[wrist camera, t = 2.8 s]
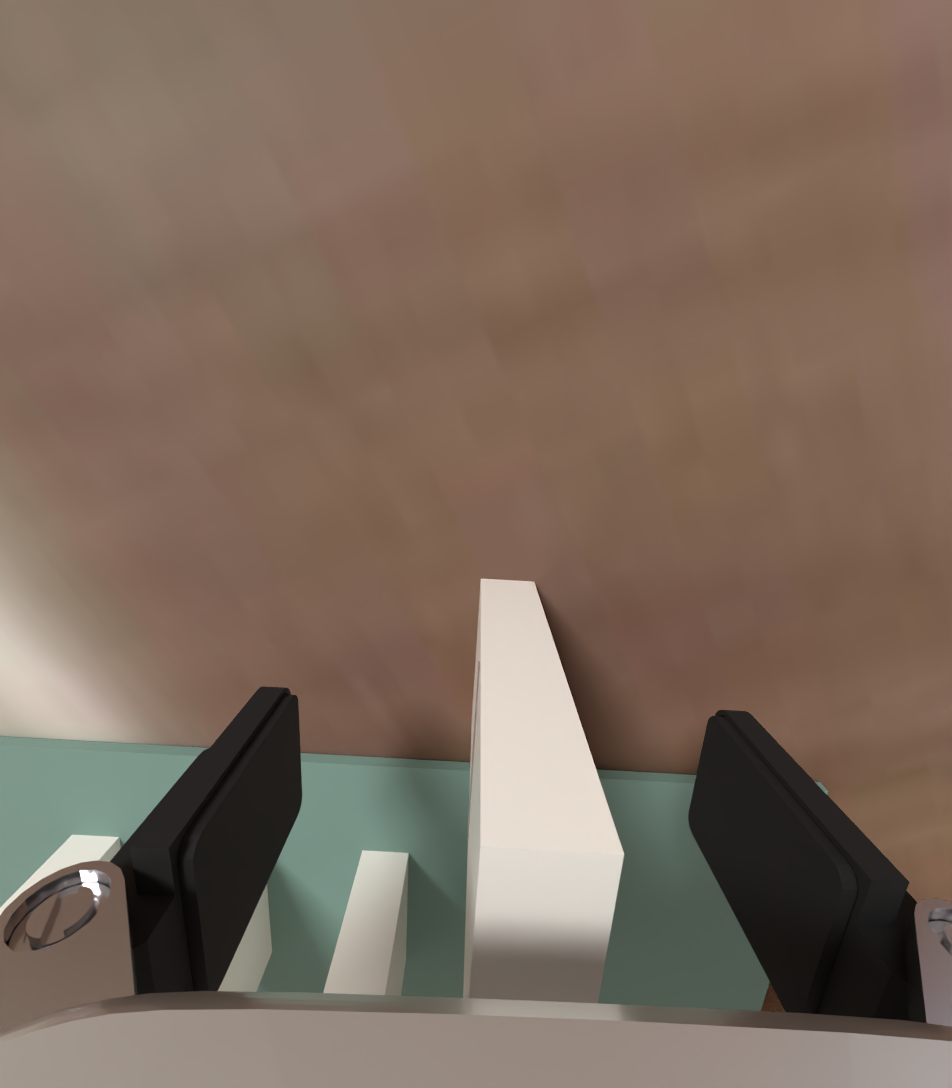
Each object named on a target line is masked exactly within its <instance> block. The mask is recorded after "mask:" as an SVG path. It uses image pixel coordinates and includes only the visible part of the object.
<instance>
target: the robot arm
mask: <svg viewBox="0 0 952 1088" xmlns="http://www.w3.org/2000/svg"><path fill="white" fill-rule="evenodd" d="M301 803H302V776H301V754H300V732H299V710H298V698H297V696H296V695H291V694H290V690H289V689H288V688H279V687H260V688H259V689H258V690H257V691H256V693H255V694H254V695H253V696H252V697H251V699H250V700H249V701H248V702H247V703H246V705H245V706H244V707H243V708H242V710H241V711H240V712H239V713H238V714H237V716H236V717H235V718H234V719H233V721H232V722H231V723H230V724H229V725H228V727H227V728H226V729H225V730H224V732H223V733H222V734H221V735H220V736H219V738H218V739H217V740H216V741H215V743H214V744H213V745H212V746H211V747H210V748H208V749H206V750H204V751H203V752H202V753H201V754H199V755H198V757H197V758H196V759H195V760H194V761H193V763H192V764H191V765H190V766H189V767H188V769H187V770H186V771H185V772H184V773H183V775H182V776H181V777H180V778H179V779H178V780H177V782H176V783H175V784H174V785H173V786H172V788H171V789H170V790H169V791H168V792H167V794H166V795H165V796H164V797H163V798H162V800H161V801H160V802H159V803H158V804H157V806H156V807H155V808H154V809H153V810H152V812H151V813H150V814H149V815H148V816H147V818H146V819H145V820H144V821H143V822H142V824H141V825H140V826H139V827H138V828H137V830H136V831H135V832H134V833H133V834H132V835H131V837H130V838H129V839H128V840H127V841H126V843H125V844H124V845H123V846H122V847H121V849H120V850H119V851H118V852H117V853H116V855H115V856H114V857H113V858H112V859H111V861H110V862H106V861H99V860H97V861H89V862H81V863H78V864H75V865H72V866H69V867H66V868H63V869H61V870H59V871H57V872H55V873H53V874H51V875H49V876H47V877H45V878H43V879H41V880H40V881H38V882H37V883H35V884H34V885H32V886H31V887H30V888H28V889H27V890H25V891H24V892H22V893H21V894H20V895H19V896H18V897H17V898H16V899H15V900H14V901H13V902H12V903H11V904H9V905H8V906H7V907H6V908H5V910H4V911H3V912H2V914H1V915H0V1088H952V902H950V901H946V900H941V899H937V898H934V899H923V900H922V901H920V902H919V903H917V902H916V901H915V900H914V899H913V898H912V896H911V895H910V894H909V893H908V892H907V891H906V890H907V887H908V884H909V881H908V880H907V879H906V878H905V877H904V876H903V875H902V874H901V873H900V872H899V871H898V870H897V869H896V867H895V866H894V865H893V864H892V863H891V862H890V861H889V860H888V859H887V858H886V857H885V856H884V855H883V854H882V853H881V852H880V851H879V849H878V848H877V847H876V846H875V845H874V844H873V843H872V842H871V841H870V840H869V839H868V838H867V837H866V836H865V835H864V834H863V833H862V831H861V830H860V829H859V828H858V827H857V826H856V825H855V824H854V823H853V822H852V821H851V820H850V819H849V818H848V817H847V816H846V815H845V813H844V812H843V811H842V810H841V809H840V808H839V807H838V806H837V805H836V804H835V803H834V802H833V801H832V800H831V799H830V798H829V797H828V795H827V794H826V793H825V792H824V791H823V790H822V789H821V788H820V787H819V786H818V785H817V784H816V783H815V782H814V781H813V780H812V779H811V777H810V776H809V775H808V774H807V773H806V772H805V771H804V770H803V769H802V768H801V767H800V766H799V765H798V764H797V763H796V762H795V761H794V759H793V758H792V757H791V756H790V755H789V754H788V753H787V752H786V751H785V750H784V749H783V748H782V747H781V746H780V745H779V744H778V743H777V741H776V740H775V739H774V738H773V737H772V736H771V735H770V734H769V733H768V732H767V731H766V730H765V729H764V728H763V727H762V726H761V725H760V723H759V722H758V721H757V720H756V719H755V718H754V717H753V716H752V715H751V714H750V713H748V712H746V711H731V710H720V711H718V712H717V713H716V714H715V716H712V717H710V718H709V720H708V723H707V728H706V732H705V737H704V742H703V747H702V751H701V756H700V761H699V765H698V770H697V775H696V780H695V784H694V789H693V794H692V798H691V803H690V808H689V813H688V821H689V827H690V830H691V832H692V835H693V837H694V838H695V840H696V842H697V844H698V846H699V848H700V850H701V852H702V854H703V856H704V857H705V859H706V861H707V863H708V865H709V867H710V869H711V871H712V873H713V875H714V876H715V878H716V880H717V882H718V884H719V886H720V888H721V890H722V892H723V894H724V895H725V897H726V899H727V901H728V903H729V905H730V907H731V909H732V911H733V913H734V914H735V916H736V918H737V920H738V922H739V924H740V926H741V928H742V930H743V932H744V933H745V935H746V937H747V939H748V941H749V943H750V945H751V947H752V949H753V951H754V952H755V954H756V956H757V958H758V960H759V962H760V964H761V966H762V968H763V970H764V971H765V973H766V975H767V977H768V979H769V981H770V983H771V985H772V987H773V989H774V990H775V992H776V994H777V996H778V998H779V1000H780V1002H781V1004H782V1006H783V1007H784V1009H785V1011H786V1012H769V1011H749V1010H728V1009H707V1008H687V1007H666V1006H645V1005H622V1004H598V1003H575V1002H551V1001H527V1000H502V999H477V998H451V997H423V996H394V995H365V994H337V993H308V992H240V991H218V989H219V987H220V985H221V984H222V981H223V979H224V977H225V975H226V973H227V970H228V968H229V966H230V964H231V962H232V959H233V957H234V955H235V953H236V951H237V948H238V946H239V944H240V942H241V940H242V937H243V935H244V933H245V931H246V929H247V926H248V924H249V922H250V920H251V918H252V915H253V913H254V911H255V909H256V907H257V904H258V902H259V900H260V898H261V896H262V893H263V891H264V889H265V887H266V885H267V882H268V880H269V878H270V876H271V874H272V871H273V869H274V867H275V865H276V863H277V860H278V858H279V856H280V854H281V852H282V849H283V847H284V845H285V843H286V841H287V838H288V836H289V834H290V832H291V830H292V827H293V825H294V823H295V821H296V819H297V816H298V814H299V811H300V808H301Z"/></svg>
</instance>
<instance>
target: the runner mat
mask: <svg viewBox="0 0 952 1088" xmlns="http://www.w3.org/2000/svg"><path fill="white" fill-rule="evenodd" d="M206 749H208V748H202V747H184V746H166V745H148V744H130V743H112V742H94V741H76V740H58V739H40V738H22V737H4V736H0V907H1V906H2V905H3V904H4V903H5V902H6V901H7V900H8V899H9V898H10V897H11V896H12V895H13V894H14V893H15V892H16V891H17V890H18V889H19V888H20V887H21V886H22V885H23V884H24V883H25V882H26V881H27V880H28V879H29V878H30V877H31V876H32V875H33V874H34V873H35V872H36V871H37V870H38V869H39V868H40V867H41V866H42V865H43V864H44V863H45V862H46V861H47V860H48V859H49V858H50V857H51V856H52V855H53V854H54V853H55V852H56V851H57V850H58V849H59V848H60V847H61V846H62V845H63V844H64V843H65V842H66V840H67V839H68V838H69V837H70V836H71V835H90V836H109V837H119V840H120V846H121V847H122V846H123V845H124V844H125V843H126V841H127V840H128V839H129V838H130V837H131V835H132V834H133V833H134V832H135V831H136V830H137V828H138V827H139V826H140V825H141V824H142V822H143V821H144V820H145V819H146V818H147V816H148V815H149V814H150V813H151V812H152V810H153V809H154V808H155V807H156V806H157V804H158V803H159V802H160V801H161V800H162V798H163V797H164V796H165V795H166V794H167V792H168V791H169V790H170V789H171V788H172V786H173V785H174V784H175V783H176V782H177V780H178V779H179V778H180V777H181V776H182V775H183V773H184V772H185V771H186V770H187V769H188V767H189V766H190V765H191V764H192V763H193V761H194V760H195V759H196V758H197V757H198V755H199V754H201V753H202V752H203V751H204V750H206ZM300 754H301V776H302V803H301V808H300V811H299V814H298V816H297V819H296V821H295V823H294V825H293V827H292V830H291V832H290V834H289V836H288V838H287V841H286V843H285V845H284V847H283V849H282V852H281V854H280V856H279V858H278V860H277V863H276V865H275V867H274V869H273V871H272V874H271V876H270V878H269V880H268V882H267V891H268V904H269V917H270V930H271V943H272V953H271V956H270V959H269V961H268V964H267V966H266V969H265V971H264V974H263V976H262V979H261V981H260V984H259V987H258V989H257V992H308V993H323V991H324V988H325V984H326V981H327V977H328V973H329V970H330V966H331V962H332V959H333V955H334V952H335V948H336V944H337V941H338V937H339V933H340V930H341V926H342V923H343V919H344V915H345V912H346V908H347V904H348V901H349V897H350V894H351V890H352V886H353V883H354V879H355V875H356V872H357V868H358V865H359V861H360V857H361V854H362V850H365V851H383V852H401V853H409V859H408V899H407V939H406V963H405V970H404V977H403V984H402V991H401V996H423V997H451V998H463V986H464V954H465V922H466V889H467V857H468V839H467V829H468V814H469V793H470V762H454V761H436V760H418V759H400V758H382V757H364V756H346V755H328V754H310V753H300ZM596 770H597V769H596ZM597 773H598V777H599V780H600V783H601V786H602V789H603V792H604V795H605V798H606V801H607V804H608V807H609V810H610V813H611V816H612V819H613V822H614V825H615V828H616V831H617V834H618V837H619V840H620V843H621V846H622V849H623V852H624V858H623V864H622V869H621V875H620V881H619V886H618V892H617V897H616V903H615V909H614V914H613V920H612V926H611V931H610V937H609V943H608V948H607V954H606V960H605V965H604V971H603V977H602V982H601V988H600V994H599V999H598V1004H622V1005H645V1006H666V1007H687V1008H707V1009H728V1010H749V1011H761V1009H762V1005H763V1002H764V999H765V996H766V992H767V989H768V986H769V983H770V981H769V979H768V977H767V975H766V973H765V971H764V970H763V968H762V966H761V964H760V962H759V960H758V958H757V956H756V954H755V952H754V951H753V949H752V947H751V945H750V943H749V941H748V939H747V937H746V935H745V933H744V932H743V930H742V928H741V926H740V924H739V922H738V920H737V918H736V916H735V914H734V913H733V911H732V909H731V907H730V905H729V903H728V901H727V899H726V897H725V895H724V894H723V892H722V890H721V888H720V886H719V884H718V882H717V880H716V878H715V876H714V875H713V873H712V871H711V869H710V867H709V865H708V863H707V861H706V859H705V857H704V856H703V854H702V852H701V850H700V848H699V846H698V844H697V842H696V840H695V838H694V837H693V835H692V832H691V830H690V827H689V821H688V813H689V808H690V803H691V798H692V794H693V789H694V784H695V780H696V775H687V774H669V773H651V772H633V771H615V770H597ZM815 783H816V784H817V785H818V786H819V787H820V788H821V789H822V790H823V791H824V792H825V793H826V794H827V793H828V790H827V789H826V788H825V787H824V786H823V785H822V784H821V783H820V782H815Z"/></svg>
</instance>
